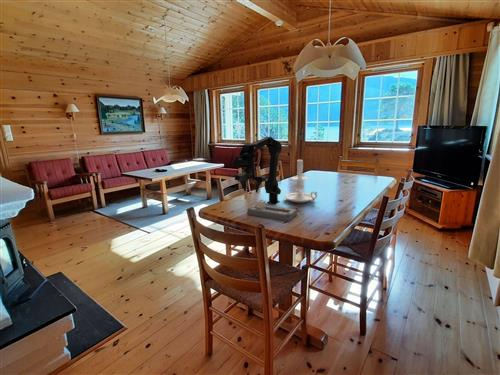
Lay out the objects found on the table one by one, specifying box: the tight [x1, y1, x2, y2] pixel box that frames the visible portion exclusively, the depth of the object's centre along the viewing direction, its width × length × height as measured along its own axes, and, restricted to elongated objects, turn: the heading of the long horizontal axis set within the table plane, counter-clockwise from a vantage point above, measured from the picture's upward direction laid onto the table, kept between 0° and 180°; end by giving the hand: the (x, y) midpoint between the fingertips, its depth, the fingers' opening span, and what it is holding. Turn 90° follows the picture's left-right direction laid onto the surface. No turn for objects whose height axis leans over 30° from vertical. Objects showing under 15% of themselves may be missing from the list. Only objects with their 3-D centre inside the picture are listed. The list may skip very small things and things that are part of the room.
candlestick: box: [283, 159, 319, 204], centre depth 175 cm, size 21×25×28 cm
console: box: [246, 204, 298, 222], centre depth 154 cm, size 12×26×3 cm, turn 58°
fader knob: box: [255, 199, 267, 209], centre depth 157 cm, size 4×4×5 cm
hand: (250, 192), depth 159 cm, fingers open, 8 cm apart
